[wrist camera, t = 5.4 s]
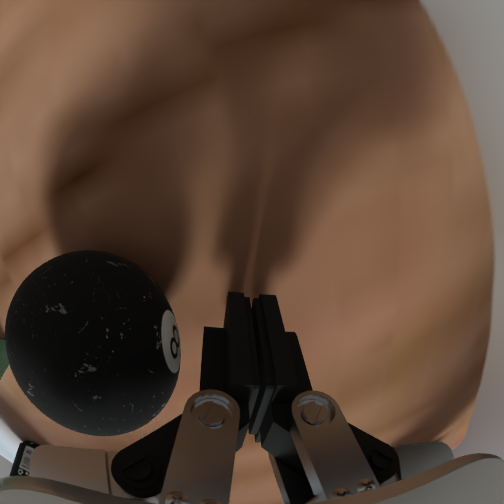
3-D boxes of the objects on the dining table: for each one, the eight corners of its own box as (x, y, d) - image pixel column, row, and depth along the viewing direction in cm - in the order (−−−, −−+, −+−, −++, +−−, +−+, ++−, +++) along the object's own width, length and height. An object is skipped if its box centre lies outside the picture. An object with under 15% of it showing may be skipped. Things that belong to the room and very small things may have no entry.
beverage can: (45, 459, 22) (30, 527, 11) (12, 434, 19) (-9, 507, 8) (77, 468, 22) (64, 544, 11) (43, 443, 19) (22, 527, 8)
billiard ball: (37, 236, 9) (-54, 328, 4) (169, 210, 9) (105, 336, 4) (87, 346, 12) (48, 448, 6) (202, 342, 12) (195, 470, 7)
